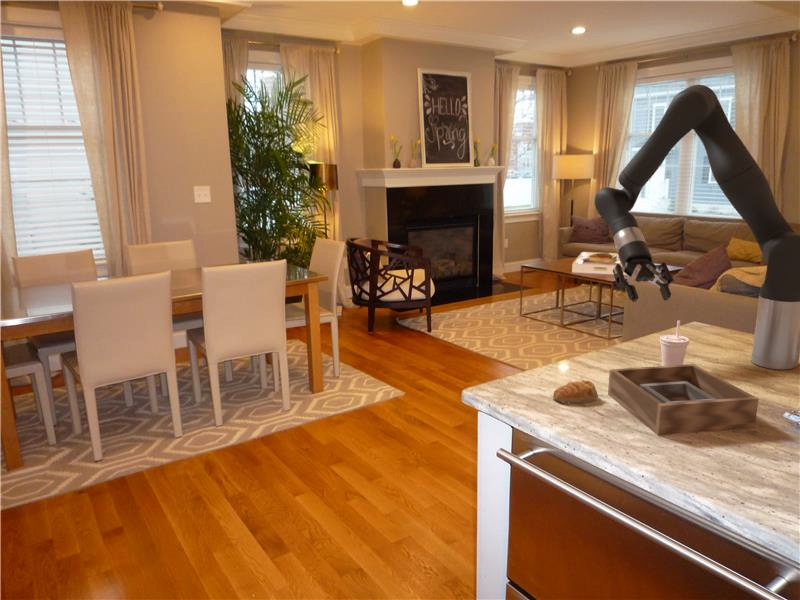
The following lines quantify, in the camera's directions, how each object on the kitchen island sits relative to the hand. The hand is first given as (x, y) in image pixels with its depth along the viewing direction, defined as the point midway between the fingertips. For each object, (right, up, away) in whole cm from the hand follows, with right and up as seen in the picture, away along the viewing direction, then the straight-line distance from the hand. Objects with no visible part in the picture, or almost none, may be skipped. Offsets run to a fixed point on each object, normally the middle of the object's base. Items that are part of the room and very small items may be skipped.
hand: (651, 299), depth 146 cm
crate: (-6, -23, -25) cm, 35 cm away
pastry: (-25, -22, -18) cm, 38 cm away
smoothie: (+2, -19, -7) cm, 20 cm away
